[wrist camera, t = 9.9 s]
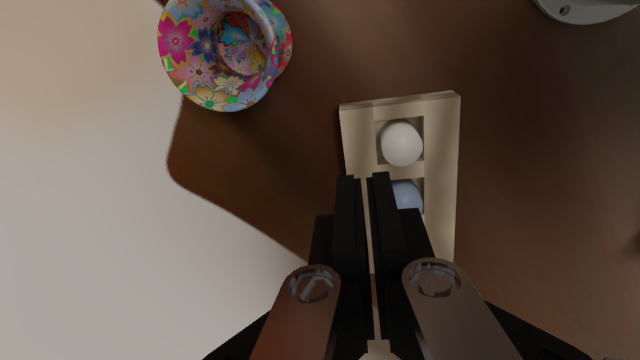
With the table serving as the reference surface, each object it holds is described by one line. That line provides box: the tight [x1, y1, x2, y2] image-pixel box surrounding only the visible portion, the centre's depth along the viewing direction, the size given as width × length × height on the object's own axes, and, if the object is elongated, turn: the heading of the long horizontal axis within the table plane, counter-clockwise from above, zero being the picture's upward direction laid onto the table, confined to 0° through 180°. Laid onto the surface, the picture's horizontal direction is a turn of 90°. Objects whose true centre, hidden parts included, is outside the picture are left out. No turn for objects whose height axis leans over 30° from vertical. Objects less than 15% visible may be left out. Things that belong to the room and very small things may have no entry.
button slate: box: [391, 178, 423, 213], centre depth 38 cm, size 4×4×4 cm
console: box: [339, 90, 461, 273], centre depth 39 cm, size 12×22×3 cm, turn 8°
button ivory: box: [379, 118, 423, 166], centre depth 35 cm, size 4×4×4 cm
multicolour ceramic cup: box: [158, 0, 293, 112], centre depth 29 cm, size 12×9×11 cm
